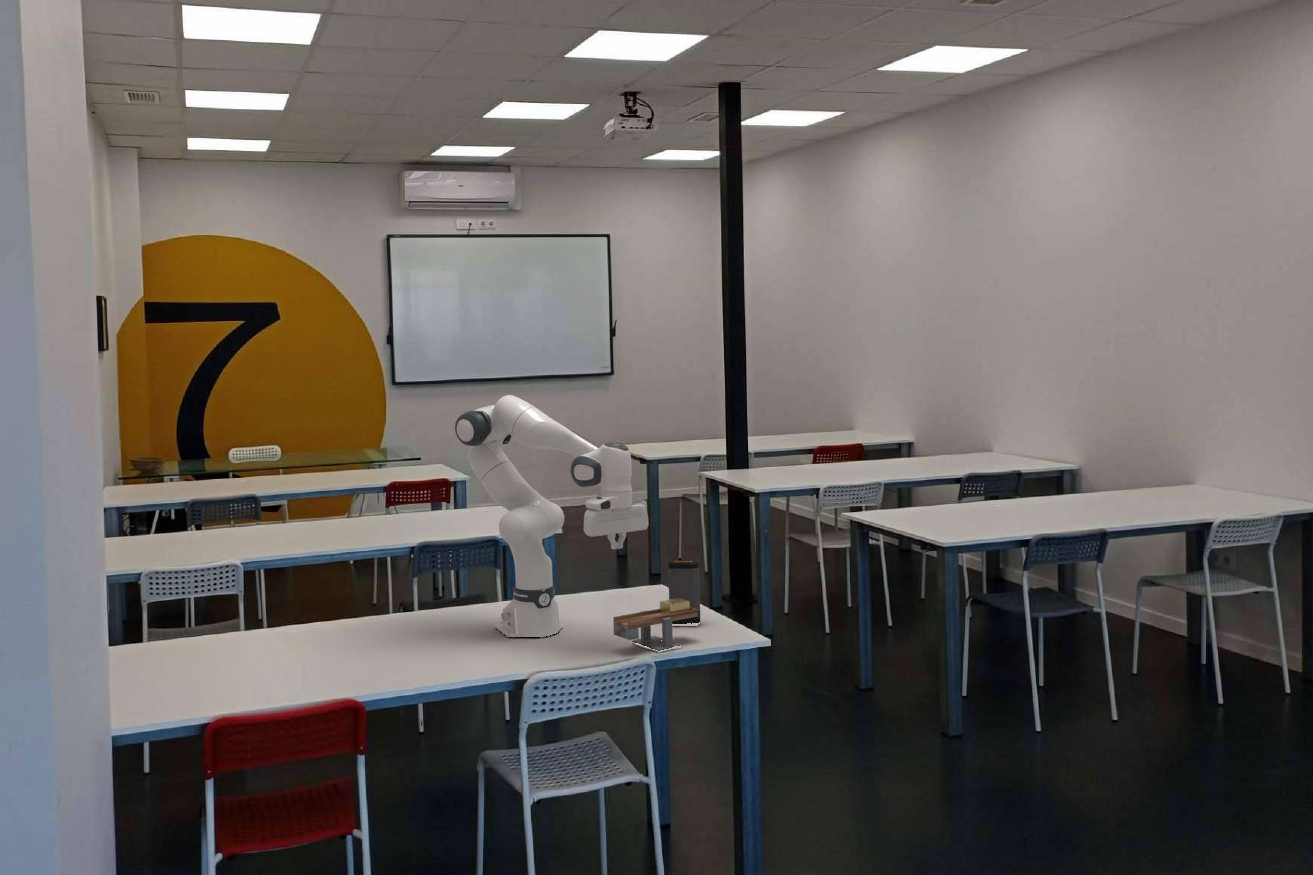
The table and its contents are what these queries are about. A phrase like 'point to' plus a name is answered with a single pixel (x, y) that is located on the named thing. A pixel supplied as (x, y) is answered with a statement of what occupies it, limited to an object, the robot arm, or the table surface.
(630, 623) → the beam
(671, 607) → the rider
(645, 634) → the stand
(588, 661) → the table surface
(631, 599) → the table surface
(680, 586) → the electronic device
